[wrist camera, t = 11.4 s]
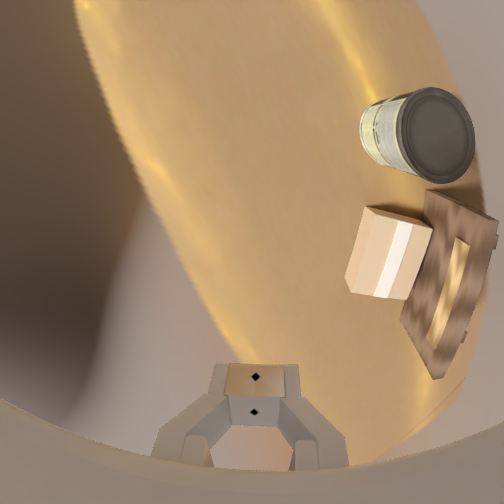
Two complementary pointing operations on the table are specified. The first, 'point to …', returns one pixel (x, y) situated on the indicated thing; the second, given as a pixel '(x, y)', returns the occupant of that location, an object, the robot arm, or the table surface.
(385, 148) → the coffee can
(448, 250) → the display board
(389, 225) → the carton
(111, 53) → the table surface
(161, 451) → the robot arm
